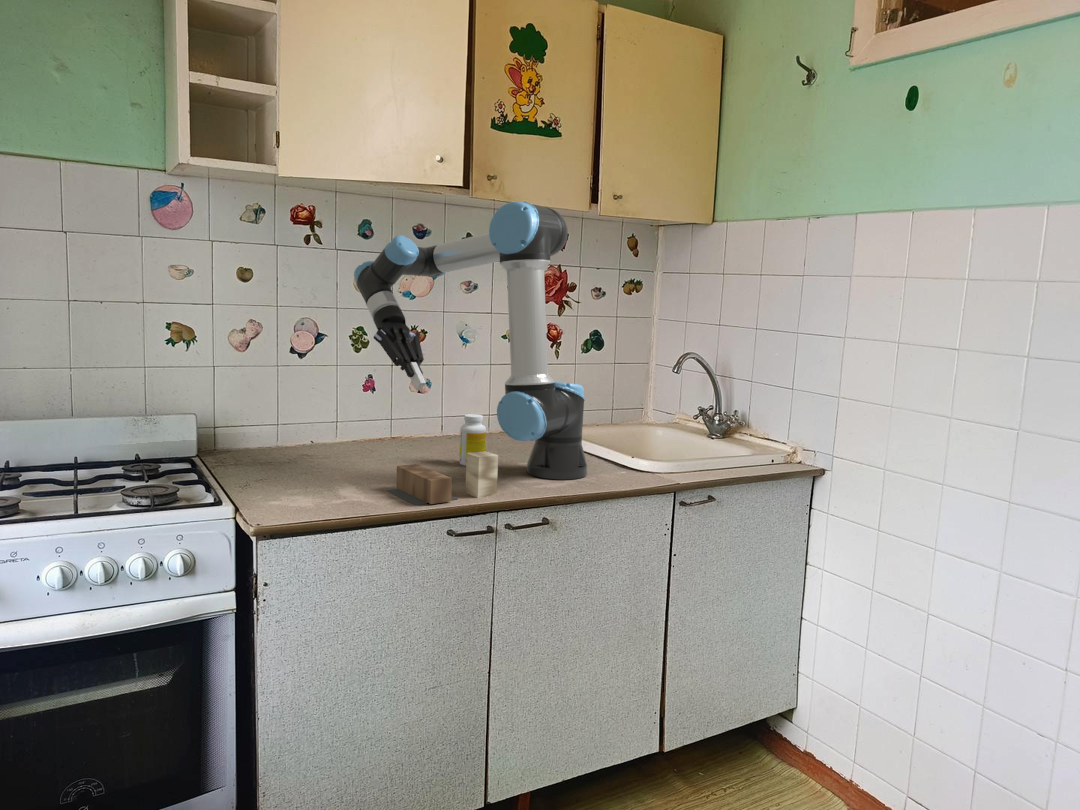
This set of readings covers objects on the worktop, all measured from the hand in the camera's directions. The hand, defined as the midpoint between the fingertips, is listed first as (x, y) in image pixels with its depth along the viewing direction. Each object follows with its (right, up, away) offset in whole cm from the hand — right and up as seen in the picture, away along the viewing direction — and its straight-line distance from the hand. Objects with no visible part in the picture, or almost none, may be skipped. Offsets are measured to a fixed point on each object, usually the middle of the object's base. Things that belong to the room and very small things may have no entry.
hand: (420, 386), depth 191 cm
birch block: (+16, -24, -16) cm, 33 cm away
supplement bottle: (+11, -20, +12) cm, 26 cm away
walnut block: (-1, -20, -15) cm, 25 cm away
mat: (+3, -24, -20) cm, 31 cm away
